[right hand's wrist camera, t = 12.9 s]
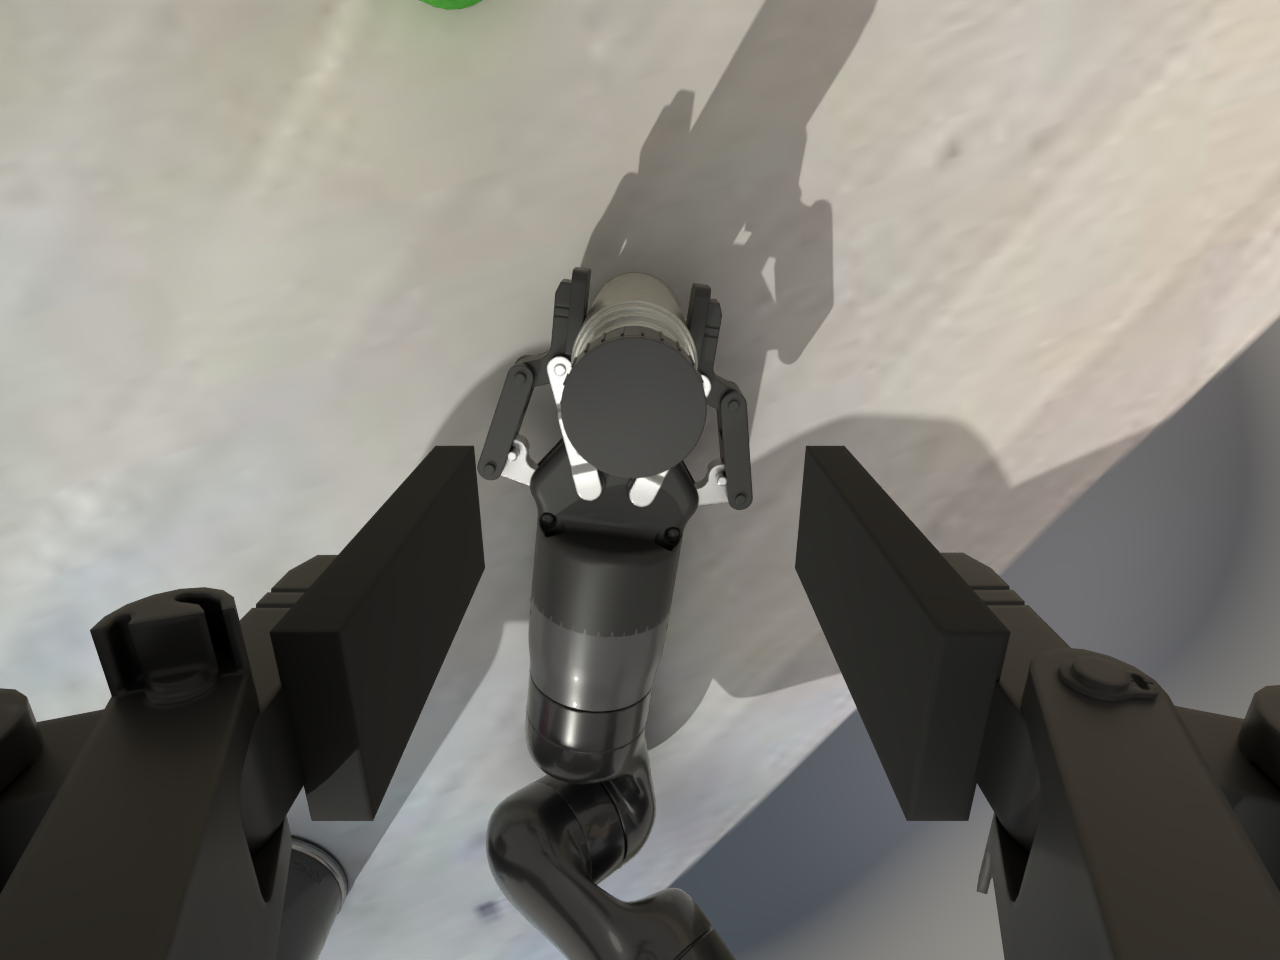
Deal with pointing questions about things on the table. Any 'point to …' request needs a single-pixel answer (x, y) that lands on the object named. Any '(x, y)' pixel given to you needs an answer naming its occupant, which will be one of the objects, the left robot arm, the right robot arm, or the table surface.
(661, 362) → the cap
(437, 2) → the potted flower
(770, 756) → the table surface
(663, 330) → the bottle
